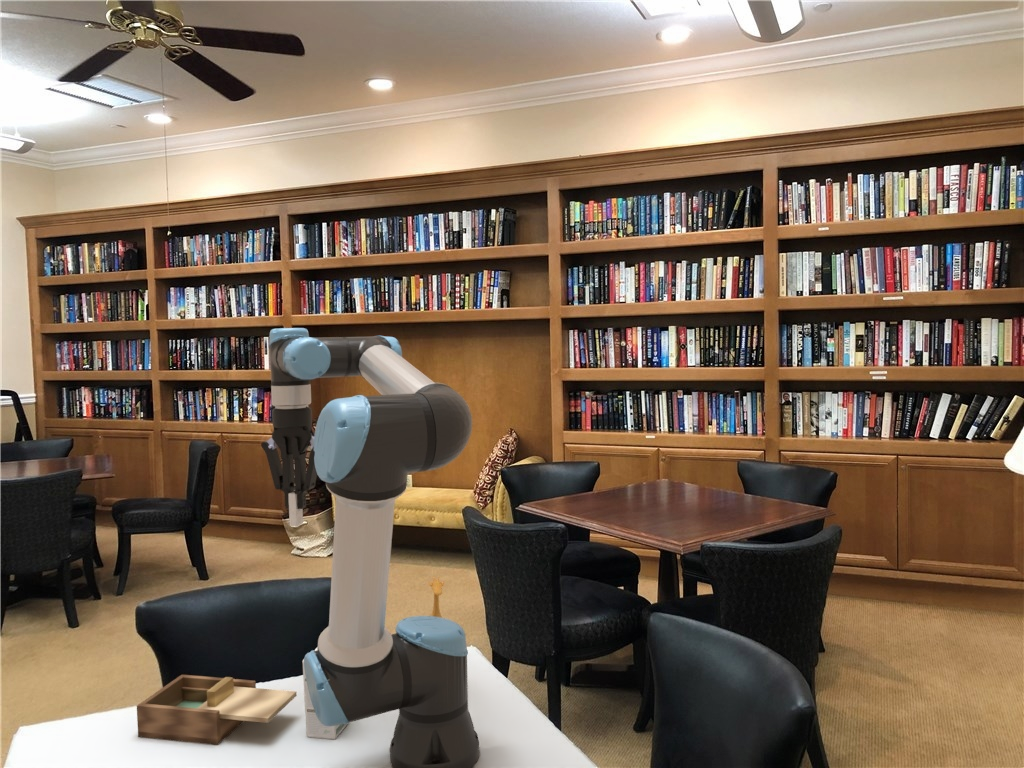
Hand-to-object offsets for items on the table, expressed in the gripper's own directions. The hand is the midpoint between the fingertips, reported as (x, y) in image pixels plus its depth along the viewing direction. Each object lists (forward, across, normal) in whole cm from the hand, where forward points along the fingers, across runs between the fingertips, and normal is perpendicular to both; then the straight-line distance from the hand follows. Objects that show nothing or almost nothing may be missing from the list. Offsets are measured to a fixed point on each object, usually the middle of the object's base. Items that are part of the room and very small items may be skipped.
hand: (296, 524), depth 155 cm
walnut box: (+34, +14, +15) cm, 40 cm away
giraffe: (+35, -27, -5) cm, 44 cm away
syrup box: (+35, -12, +13) cm, 39 cm away
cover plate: (+30, +4, +15) cm, 34 cm away
